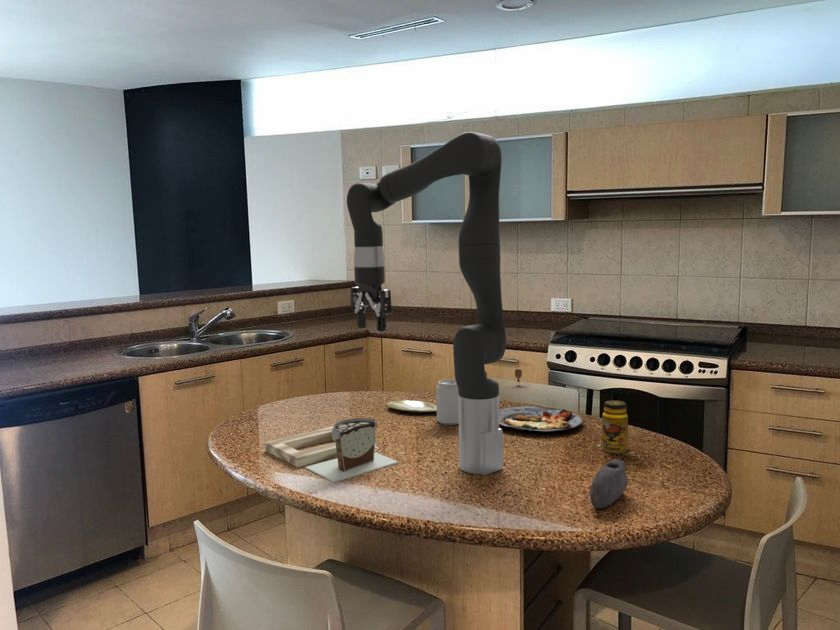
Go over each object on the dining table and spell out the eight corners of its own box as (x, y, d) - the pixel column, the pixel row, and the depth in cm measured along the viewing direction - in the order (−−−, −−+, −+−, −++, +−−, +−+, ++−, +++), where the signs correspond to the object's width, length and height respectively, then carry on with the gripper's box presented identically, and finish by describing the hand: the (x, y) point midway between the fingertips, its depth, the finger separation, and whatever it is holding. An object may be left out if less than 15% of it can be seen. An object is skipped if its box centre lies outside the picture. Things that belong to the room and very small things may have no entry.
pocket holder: (367, 448, 170) (367, 439, 170) (297, 467, 158) (297, 457, 157) (333, 434, 183) (332, 426, 182) (265, 451, 170) (265, 442, 170)
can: (467, 420, 193) (467, 379, 192) (455, 427, 187) (454, 385, 186) (445, 417, 197) (444, 377, 196) (432, 423, 191) (431, 382, 190)
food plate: (591, 419, 194) (591, 407, 193) (571, 442, 173) (571, 429, 173) (508, 410, 205) (508, 399, 204) (480, 431, 184) (480, 418, 184)
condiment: (604, 455, 163) (605, 406, 161) (594, 443, 171) (595, 397, 169) (634, 454, 163) (635, 405, 161) (623, 443, 171) (623, 396, 170)
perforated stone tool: (605, 517, 128) (606, 482, 127) (579, 511, 131) (579, 476, 130) (632, 492, 140) (633, 459, 139) (608, 486, 143) (608, 455, 142)
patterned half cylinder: (360, 454, 165) (359, 414, 164) (378, 459, 161) (377, 418, 160) (321, 467, 156) (320, 425, 155) (339, 473, 152) (337, 430, 151)
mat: (398, 463, 159) (398, 461, 159) (333, 483, 148) (333, 480, 148) (368, 451, 168) (368, 449, 168) (305, 468, 157) (305, 466, 157)
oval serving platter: (500, 416, 198) (500, 409, 198) (485, 425, 189) (485, 418, 188) (397, 403, 215) (397, 397, 214) (380, 411, 205) (379, 405, 205)
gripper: (398, 265, 164) (400, 330, 166) (365, 263, 175) (367, 325, 177) (373, 266, 159) (375, 334, 161) (340, 264, 170) (343, 328, 172)
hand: (371, 329), depth 169 cm, fingers open, 8 cm apart
